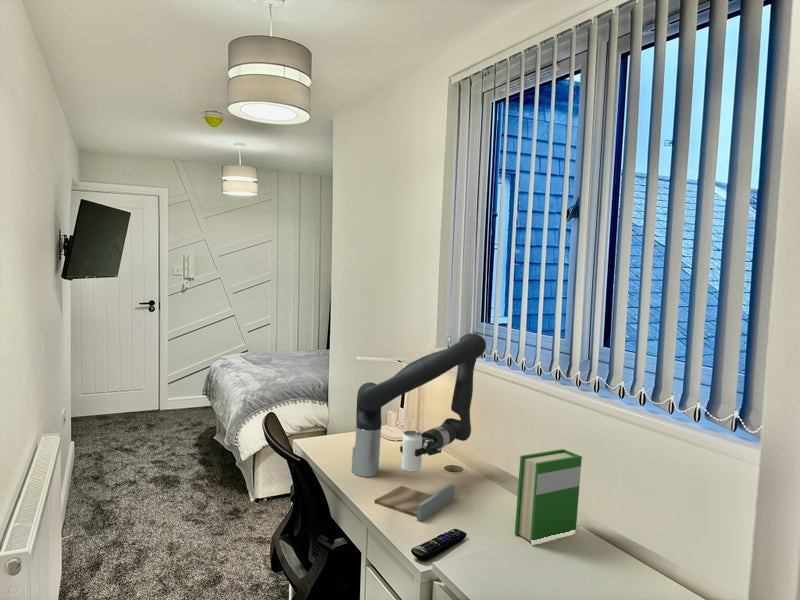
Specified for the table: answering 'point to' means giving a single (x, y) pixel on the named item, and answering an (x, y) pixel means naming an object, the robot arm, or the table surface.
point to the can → (411, 451)
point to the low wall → (435, 502)
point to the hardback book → (547, 494)
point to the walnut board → (403, 500)
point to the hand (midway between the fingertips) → (408, 451)
